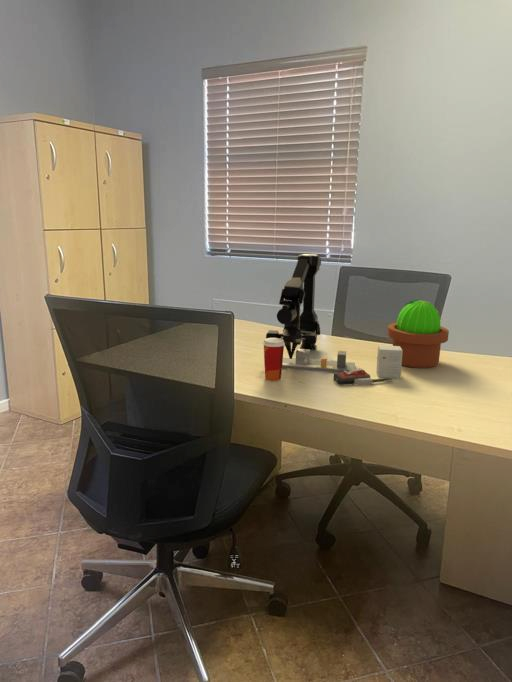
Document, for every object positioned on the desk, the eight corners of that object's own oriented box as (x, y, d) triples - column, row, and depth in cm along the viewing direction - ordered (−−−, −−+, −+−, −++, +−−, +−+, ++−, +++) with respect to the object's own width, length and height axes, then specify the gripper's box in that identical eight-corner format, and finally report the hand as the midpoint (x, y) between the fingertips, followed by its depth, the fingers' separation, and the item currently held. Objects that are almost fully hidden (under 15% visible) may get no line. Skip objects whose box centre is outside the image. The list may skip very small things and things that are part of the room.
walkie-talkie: (339, 388, 176) (392, 383, 181) (340, 376, 175) (393, 371, 180) (329, 380, 184) (380, 376, 189) (330, 368, 183) (381, 364, 188)
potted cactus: (456, 367, 199) (464, 302, 193) (408, 372, 192) (414, 306, 185) (420, 351, 219) (426, 292, 213) (375, 356, 212) (379, 295, 205)
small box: (398, 373, 191) (400, 345, 188) (400, 378, 186) (403, 350, 183) (375, 372, 192) (378, 345, 189) (377, 377, 186) (380, 349, 184)
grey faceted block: (297, 359, 201) (297, 348, 200) (309, 360, 200) (310, 349, 199) (294, 365, 194) (295, 353, 193) (307, 366, 193) (308, 354, 192)
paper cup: (272, 373, 189) (273, 336, 186) (288, 378, 184) (289, 340, 180) (257, 378, 184) (257, 339, 180) (273, 383, 179) (274, 344, 175)
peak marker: (321, 364, 194) (321, 357, 193) (326, 365, 194) (327, 357, 193) (320, 366, 192) (321, 358, 191) (326, 366, 192) (326, 359, 191)
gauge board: (277, 360, 205) (277, 344, 204) (354, 365, 199) (355, 350, 198) (273, 367, 196) (273, 351, 194) (354, 373, 190) (355, 357, 188)
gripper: (263, 322, 189) (262, 363, 193) (315, 325, 185) (313, 366, 189) (268, 315, 199) (268, 354, 203) (318, 318, 196) (316, 358, 200)
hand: (290, 358), depth 199 cm, fingers closed
